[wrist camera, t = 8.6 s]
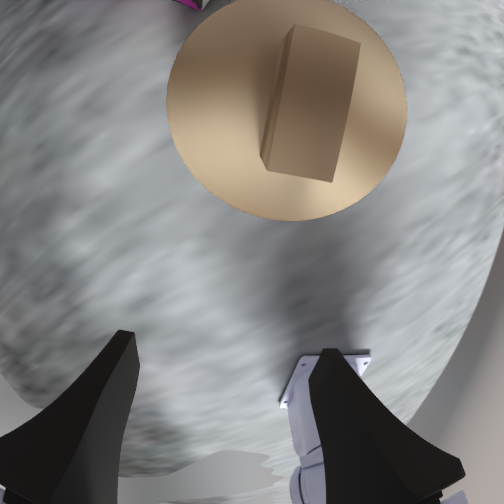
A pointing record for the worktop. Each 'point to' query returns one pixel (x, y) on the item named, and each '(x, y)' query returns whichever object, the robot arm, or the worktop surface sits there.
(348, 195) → the lid
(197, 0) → the candy bar box
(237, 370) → the worktop surface
